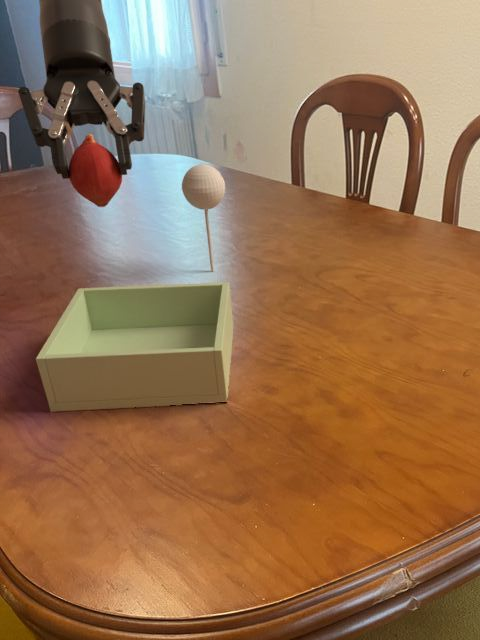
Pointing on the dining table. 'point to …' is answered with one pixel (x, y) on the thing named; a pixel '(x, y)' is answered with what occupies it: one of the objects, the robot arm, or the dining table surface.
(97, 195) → the red kuri squash
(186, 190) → the lollipop
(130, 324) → the bin
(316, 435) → the dining table surface
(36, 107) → the robot arm
